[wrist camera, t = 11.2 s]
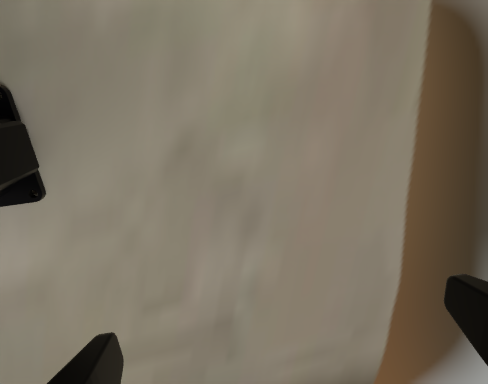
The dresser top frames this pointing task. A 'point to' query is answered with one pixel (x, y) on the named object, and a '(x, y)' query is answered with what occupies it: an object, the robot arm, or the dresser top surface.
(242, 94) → the dresser top surface
